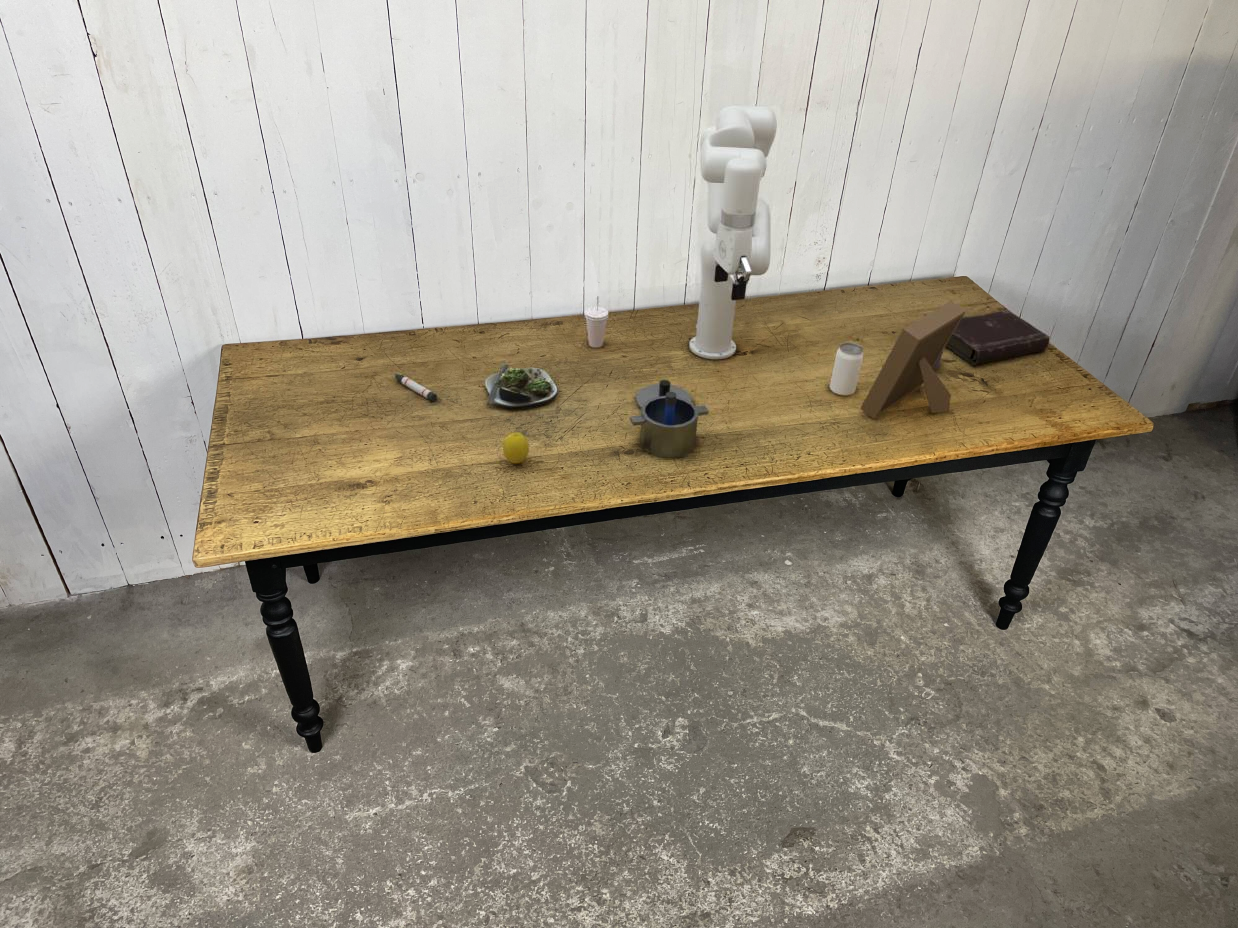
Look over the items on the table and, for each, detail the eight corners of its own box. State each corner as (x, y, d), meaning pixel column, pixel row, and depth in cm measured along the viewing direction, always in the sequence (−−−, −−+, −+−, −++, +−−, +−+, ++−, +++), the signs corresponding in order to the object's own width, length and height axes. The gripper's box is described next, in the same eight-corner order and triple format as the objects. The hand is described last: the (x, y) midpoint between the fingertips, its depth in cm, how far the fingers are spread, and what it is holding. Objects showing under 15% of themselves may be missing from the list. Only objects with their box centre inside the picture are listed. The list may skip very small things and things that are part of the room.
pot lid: (628, 392, 215) (629, 372, 212) (679, 384, 219) (681, 365, 215) (646, 421, 205) (647, 401, 201) (699, 413, 208) (701, 393, 205)
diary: (1046, 352, 238) (1052, 336, 235) (974, 368, 230) (980, 351, 227) (998, 322, 252) (1003, 307, 249) (929, 336, 244) (934, 320, 241)
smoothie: (611, 341, 236) (612, 294, 227) (602, 352, 231) (604, 304, 222) (589, 336, 237) (589, 289, 229) (580, 347, 232) (581, 299, 224)
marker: (437, 399, 209) (436, 392, 208) (431, 402, 208) (430, 395, 207) (398, 376, 217) (397, 369, 216) (391, 379, 216) (390, 372, 215)
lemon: (504, 455, 192) (502, 426, 187) (529, 455, 192) (528, 425, 188) (503, 471, 188) (501, 441, 183) (529, 470, 188) (528, 440, 183)
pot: (621, 432, 201) (623, 401, 196) (693, 421, 205) (696, 391, 200) (639, 463, 191) (640, 432, 186) (714, 451, 196) (717, 420, 191)
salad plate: (473, 375, 219) (472, 359, 216) (541, 364, 224) (541, 349, 221) (491, 415, 204) (490, 399, 202) (563, 403, 210) (563, 387, 207)
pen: (660, 438, 199) (664, 392, 191) (670, 436, 199) (674, 391, 192) (664, 444, 197) (667, 398, 189) (674, 442, 197) (678, 396, 190)
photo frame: (859, 412, 211) (881, 320, 196) (905, 381, 224) (929, 292, 209) (913, 438, 203) (940, 344, 188) (958, 404, 215) (987, 314, 200)
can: (855, 398, 216) (865, 356, 209) (829, 394, 217) (837, 352, 210) (854, 385, 221) (864, 343, 214) (829, 381, 222) (838, 340, 215)
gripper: (706, 205, 194) (699, 276, 204) (738, 234, 181) (729, 308, 191) (737, 202, 196) (729, 273, 206) (770, 231, 183) (759, 305, 193)
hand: (729, 290), depth 198 cm, fingers open, 9 cm apart
